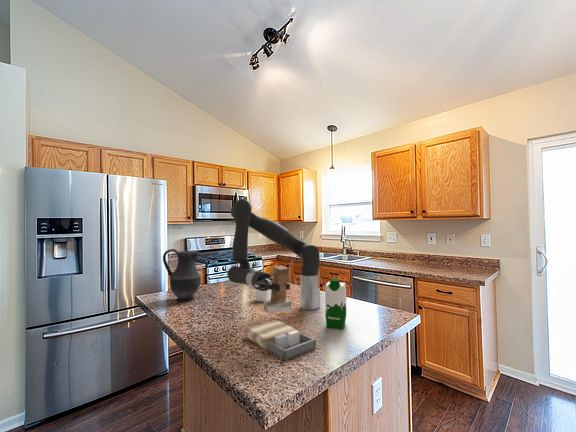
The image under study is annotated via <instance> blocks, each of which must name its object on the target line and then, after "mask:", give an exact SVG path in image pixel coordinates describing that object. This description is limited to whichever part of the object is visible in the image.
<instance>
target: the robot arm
mask: <svg viewBox="0 0 576 432" xmlns="http://www.w3.org/2000/svg"><path fill="white" fill-rule="evenodd" d="M230 215H231V217H232V218H233V219H234V220H235V229H234V236H233V241H232V255H231V256H232V257H231V258H232V261H234V262H236V263H238V264H239V266H231V267H230V268H229V269H228V271H227V279H228V280H229V281H230V282H232V283H235V284H243V285H246V286H248V287H250V288H252V289H254V290H256V289H257V290H260V291H267V290H275V291H280V285H277V284H273V283H272V275H271V274H270V273H269V272H266V271H262V270H258V269H251V268H250V267H251V266H250V264H249V258H248V253H249V251H248V249H249V248H248V247H249V246H248V244H249V243H248V242H249V241H248V240H249V238H248V237H249V228H251V229H253V230H255V231H257V232H258V233H259V234H261V235H262V236H264V237H265V238H267V239H269V240H270V241H272V242H274V243H275V244H277V245H279V246H281V247H284V248H285V249H288V250H290V251H291V252H292V253H294V254H295V255H297V256H298V258H300V259H302V267H301V269H300V308H301V309H303V310H307V311H308V310H309V311H312V310H313V311H314V310H317V309H319V308H320V307H321V301H320V300H321V296H320V295H321V293H320V292H321V291H320V288H319V270H320V250H319V248H318V246H316V245H314V244H312V243H311V244H310V243H307V242H305V241H304V240H303V241H302V240H301V239H299V238H298V237H295V235H294V234H293V233H291V232H290V230H289V229H287V228H286V227H285V226H282V225H281V224H280V223H278V222H277V221H275V220H272V219H268V218H265V217H261V216H259V215H257V214H256V213H254V212H253V211H252V204H251V203H250V202H249V200H247V199H244V198H241V199H238V200H237V201H235V202H234V204H232V206H231V208H230ZM290 288H291V284H290V282H287V288H286V289H287V290H290Z"/></svg>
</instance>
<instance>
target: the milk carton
mask: <svg viewBox="0 0 576 432" xmlns="http://www.w3.org/2000/svg"><path fill="white" fill-rule="evenodd" d="M324 288H325V289H324V295H325V296H324V298H325V299H324V302H325V303H324V304H325V305H324V306H325V308H324V311H325V313H324V315H325V316H324V317H325V325H326V326H325V327H326V328H327V329H328V328H329V329H335V328H337V330H344V328H345V325H346V319H347V288H346V282H341V281H340V279H337V278H331V279H329V281H328V282H326V283H325V285H324Z"/></svg>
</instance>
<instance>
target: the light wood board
mask: <svg viewBox="0 0 576 432" xmlns="http://www.w3.org/2000/svg"><path fill="white" fill-rule="evenodd" d="M295 330H297V331H298V329H297V328H295V327H292V326H291V325H288V324H285V323H283V322H282V321H279V320H277V319H273V320H270V321H266V322H263V323H258V324H256V325H252V326H248V327H246V338H247V339H249V340H251V341H253V342H254V343H256V344H257V345H259V346H260V347H262V348H264V349H265V350H267V341H271V342H272V343H274V344H275V336H278V335H281V334H285V335H287V333H289V332H292V331H295ZM287 342H288V336H287Z"/></svg>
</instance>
